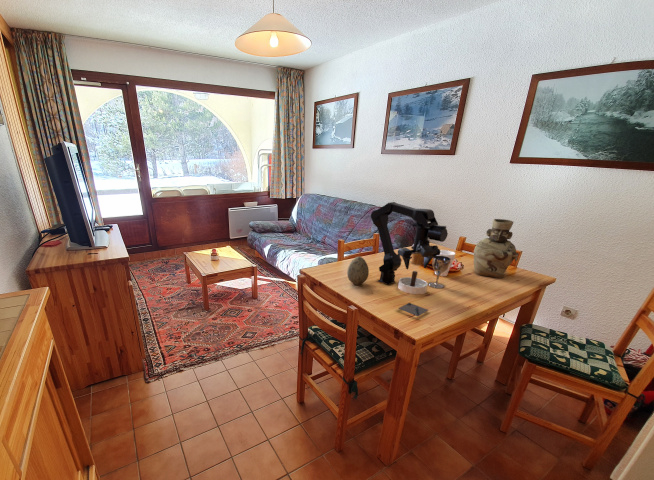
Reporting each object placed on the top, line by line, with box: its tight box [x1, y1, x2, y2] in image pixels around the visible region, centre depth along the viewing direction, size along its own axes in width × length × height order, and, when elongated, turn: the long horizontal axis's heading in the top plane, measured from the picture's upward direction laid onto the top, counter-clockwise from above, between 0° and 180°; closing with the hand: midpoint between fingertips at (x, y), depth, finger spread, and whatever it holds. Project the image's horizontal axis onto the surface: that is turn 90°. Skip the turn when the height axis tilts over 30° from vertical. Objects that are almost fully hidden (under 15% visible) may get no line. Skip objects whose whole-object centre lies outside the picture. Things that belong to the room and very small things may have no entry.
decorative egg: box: [346, 256, 370, 286], centre depth 160 cm, size 11×11×15 cm
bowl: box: [397, 276, 429, 295], centre depth 153 cm, size 13×13×5 cm
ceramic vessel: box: [473, 218, 520, 279], centre depth 171 cm, size 19×21×30 cm
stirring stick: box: [410, 270, 418, 287], centre depth 152 cm, size 4×4×10 cm
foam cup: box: [434, 249, 456, 277], centre depth 173 cm, size 10×9×13 cm
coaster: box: [398, 302, 429, 317], centre depth 134 cm, size 9×9×2 cm
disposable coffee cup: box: [411, 243, 424, 266], centre depth 190 cm, size 10×10×12 cm
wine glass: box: [428, 256, 451, 289], centre depth 158 cm, size 8×8×15 cm
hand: (415, 268), depth 149 cm, fingers open, 9 cm apart
